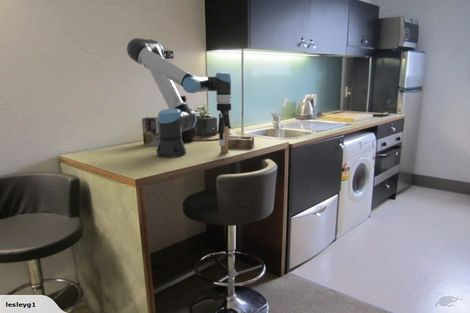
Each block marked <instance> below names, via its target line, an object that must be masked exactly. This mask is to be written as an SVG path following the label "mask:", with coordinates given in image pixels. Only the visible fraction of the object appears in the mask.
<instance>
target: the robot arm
mask: <svg viewBox="0 0 470 313" xmlns="http://www.w3.org/2000/svg"><path fill="white" fill-rule="evenodd" d="M126 53H127V55H128V57H129V58H130V59H131V60H132V61H134V62H136V63H137V64H139V65H140V66H143V67H144V68H145V69H147V70H149V72H150V74H151V75H152V78H153V79H154V83H155V84H156V86H157V88H158V90H159V91H160V94H161V95H162V98H163V99H164V102H165V103H166V105H167V107H168V108H167V109H163V110H160V111H158V114H157V117H158V125H159V144H158V146H157V148H156V156H157V157H161V158H177V157H178V158H179V157H182V156H185V155H187V154H186V153H187V150H186V146H185V145H184V142H183V141H182V131H185V130H189V129H191V128H193V127H194V126H196V125H197V121H198V117H197V113H196V111H195V110H194V109H192V108H190V107H189V105H188V103H187V102H186V103H185V102H183V101H182V99H181V97H180V96H181V95H180V92H178V89H177V87H176V85H175V83H176V84H177V85H179V86H181V87H182V89H183V90H184V92H187V93H189V94H196V93H201V92H216V95H215V96H216V99H215V100H216V111H218V112H220V113H219V114H218V123H217V124H218V126H217V132H216V133H217V134H218V146H220V147H221V146H225V136H224V128H225V126H226V127H228V141H230V135H231V134H230V132H231V131H230V130H231V129H232V126H231V120H230V111H231V110H232V103H231V102H232V99H233V97H232V95H231V94H232V91H231V90H232V84H231V83H232V80H231V77H232V76H231V73H230V72H227V71H226V72H216V73H215V75H214V76H195V75H194V74H192V73H190V72H189V71H186V70H185V69H183V68H182V67H180V66H179V65H177V64H174V63H173V62H171V61H169V60H168V59H165V57H164V53H165V51H164V47H163V45H162V43H160V42H158V41H157V40H154V39H146V38H140V37H136V38H132V39H131V40H129V41H128V43H127V45H126Z"/></svg>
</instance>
